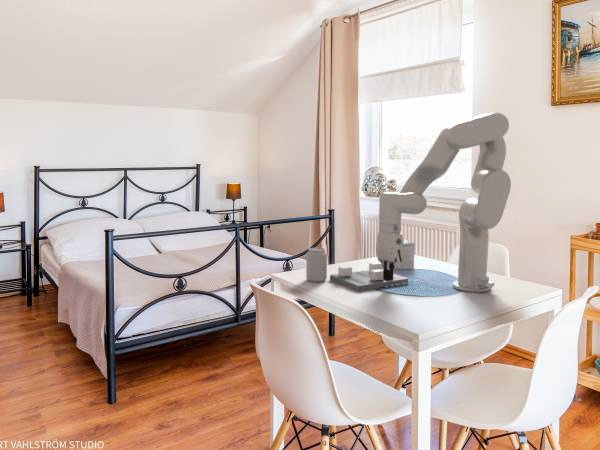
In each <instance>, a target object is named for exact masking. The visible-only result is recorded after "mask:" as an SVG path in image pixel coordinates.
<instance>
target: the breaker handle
mask: <svg viewBox="0 0 600 450" xmlns="http://www.w3.org/2000/svg"><path fill="white" fill-rule="evenodd" d="M370 279H373V280H381V279H383V269H382V270H380V269H377V270H370Z"/></svg>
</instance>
